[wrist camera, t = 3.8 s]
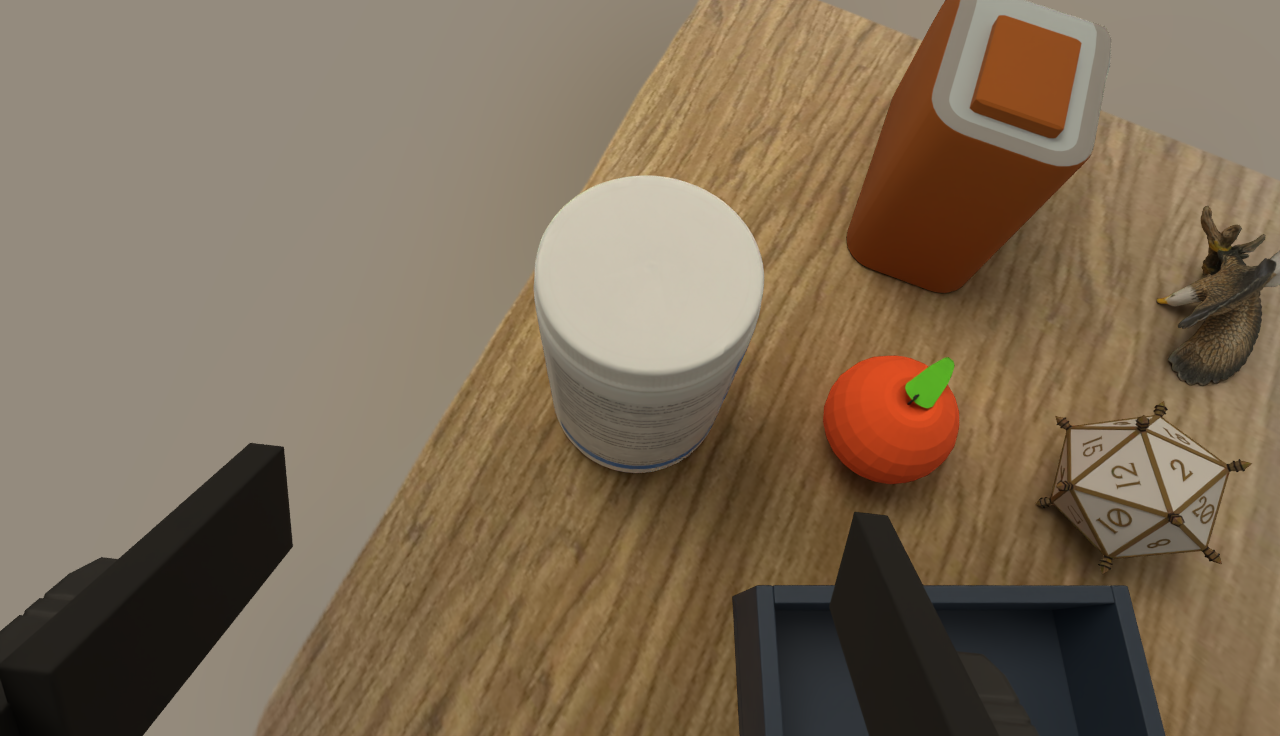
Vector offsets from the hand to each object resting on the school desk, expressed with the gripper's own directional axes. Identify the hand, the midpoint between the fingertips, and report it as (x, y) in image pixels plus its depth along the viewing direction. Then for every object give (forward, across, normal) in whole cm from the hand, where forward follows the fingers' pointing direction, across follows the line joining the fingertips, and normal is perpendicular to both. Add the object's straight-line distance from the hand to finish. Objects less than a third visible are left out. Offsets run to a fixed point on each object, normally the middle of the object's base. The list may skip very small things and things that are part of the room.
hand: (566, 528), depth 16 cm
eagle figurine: (+31, +37, -1) cm, 48 cm away
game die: (+22, +28, -10) cm, 37 cm away
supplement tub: (+24, +1, -8) cm, 26 cm away
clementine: (+24, +16, -8) cm, 30 cm away
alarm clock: (+36, +20, +4) cm, 42 cm away
